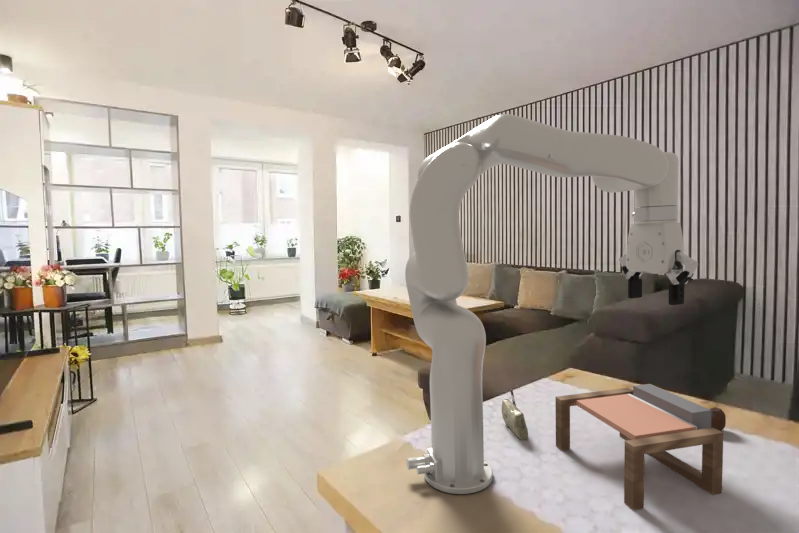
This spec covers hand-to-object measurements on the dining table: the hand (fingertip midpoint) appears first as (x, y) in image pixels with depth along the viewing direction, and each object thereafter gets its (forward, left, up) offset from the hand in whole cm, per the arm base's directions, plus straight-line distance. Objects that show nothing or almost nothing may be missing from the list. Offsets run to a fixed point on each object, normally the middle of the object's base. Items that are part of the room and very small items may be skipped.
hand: (654, 300), depth 90 cm
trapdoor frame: (-11, -7, -30) cm, 32 cm away
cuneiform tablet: (-24, +14, -30) cm, 41 cm away
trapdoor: (-9, -7, -22) cm, 25 cm away
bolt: (+15, +7, -30) cm, 34 cm away
